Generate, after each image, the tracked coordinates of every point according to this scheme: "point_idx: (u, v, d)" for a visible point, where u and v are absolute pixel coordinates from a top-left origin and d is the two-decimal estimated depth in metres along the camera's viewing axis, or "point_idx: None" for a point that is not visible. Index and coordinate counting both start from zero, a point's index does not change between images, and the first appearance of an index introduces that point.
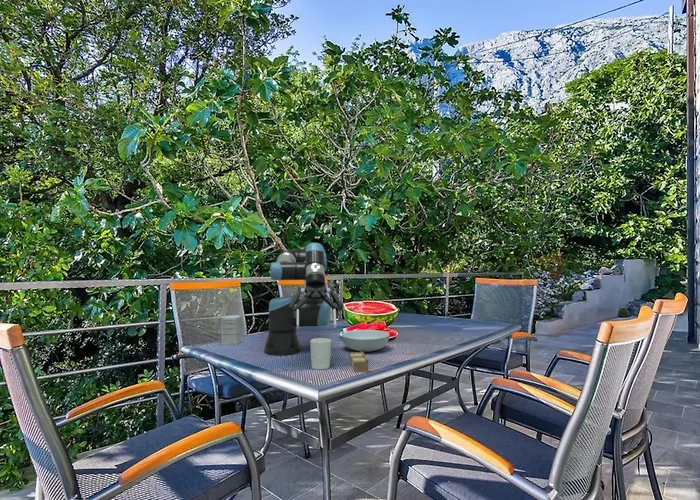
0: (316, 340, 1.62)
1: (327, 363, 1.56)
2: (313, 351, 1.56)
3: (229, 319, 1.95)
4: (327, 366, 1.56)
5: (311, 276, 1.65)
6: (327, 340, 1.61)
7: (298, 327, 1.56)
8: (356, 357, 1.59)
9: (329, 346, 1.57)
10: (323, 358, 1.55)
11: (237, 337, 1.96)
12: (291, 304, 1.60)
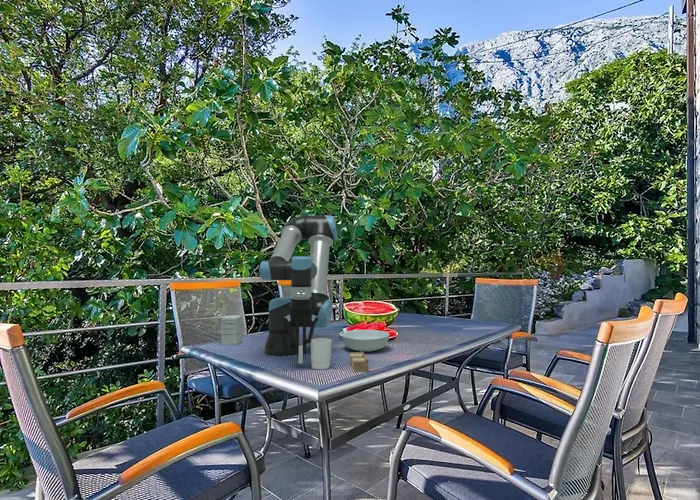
0: (316, 340, 1.62)
1: (327, 363, 1.56)
2: (313, 351, 1.56)
3: (229, 319, 1.95)
4: (327, 366, 1.56)
5: (296, 303, 1.54)
6: (327, 340, 1.61)
7: None
8: (356, 357, 1.59)
9: (329, 346, 1.57)
10: (323, 358, 1.55)
11: (237, 337, 1.96)
12: (291, 339, 1.56)
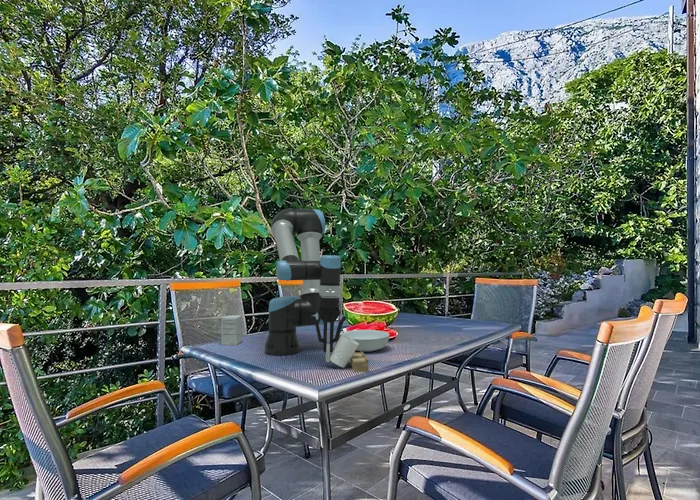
0: (344, 337, 1.62)
1: (345, 363, 1.56)
2: (339, 345, 1.56)
3: (229, 319, 1.95)
4: (344, 365, 1.56)
5: (325, 302, 1.55)
6: (354, 342, 1.62)
7: None
8: (356, 357, 1.59)
9: (355, 348, 1.57)
10: (345, 356, 1.55)
11: (237, 337, 1.96)
12: (319, 337, 1.57)
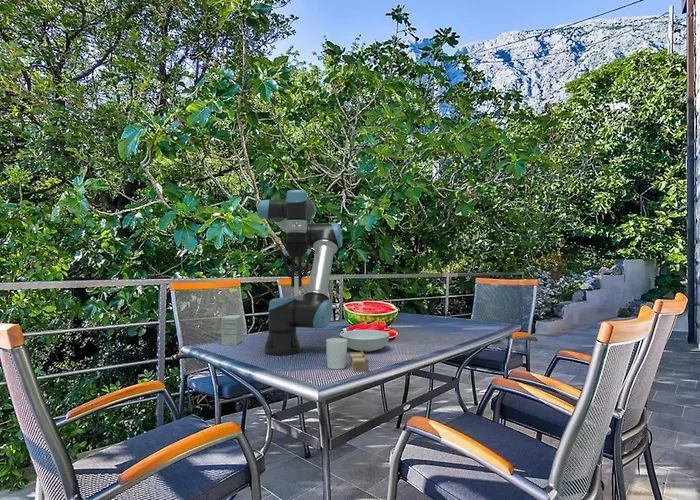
0: (332, 340, 1.62)
1: (343, 363, 1.56)
2: (329, 351, 1.56)
3: (229, 319, 1.95)
4: (343, 366, 1.56)
5: (292, 236, 1.55)
6: (343, 340, 1.61)
7: None
8: (356, 357, 1.59)
9: (345, 346, 1.57)
10: (339, 358, 1.55)
11: (237, 337, 1.96)
12: (287, 272, 1.57)
